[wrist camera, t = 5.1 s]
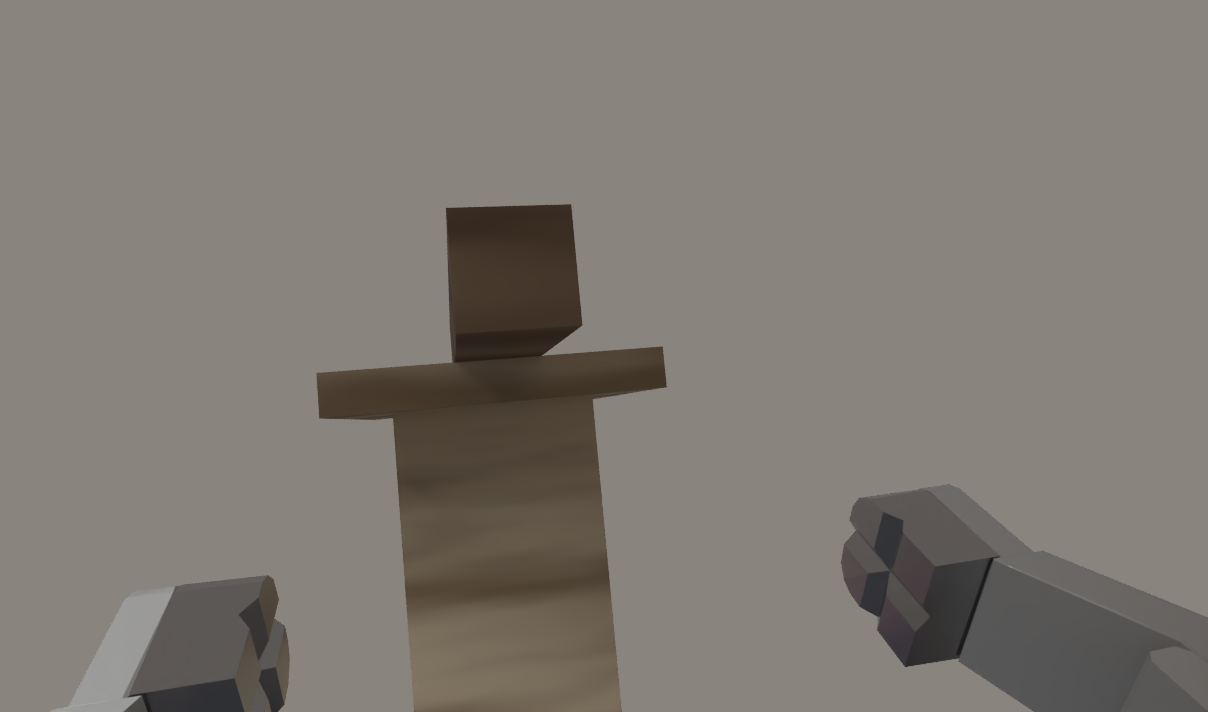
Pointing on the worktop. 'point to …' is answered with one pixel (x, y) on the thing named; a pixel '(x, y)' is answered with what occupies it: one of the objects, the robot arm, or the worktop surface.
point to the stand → (502, 523)
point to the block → (511, 280)
